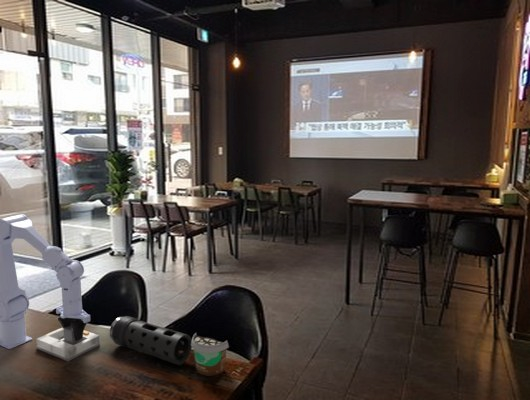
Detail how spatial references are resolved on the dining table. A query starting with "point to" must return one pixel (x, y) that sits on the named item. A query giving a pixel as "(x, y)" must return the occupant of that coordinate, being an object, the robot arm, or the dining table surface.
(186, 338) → the muzzle brake
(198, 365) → the food container
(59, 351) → the double socket
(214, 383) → the dining table surface
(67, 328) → the plug
